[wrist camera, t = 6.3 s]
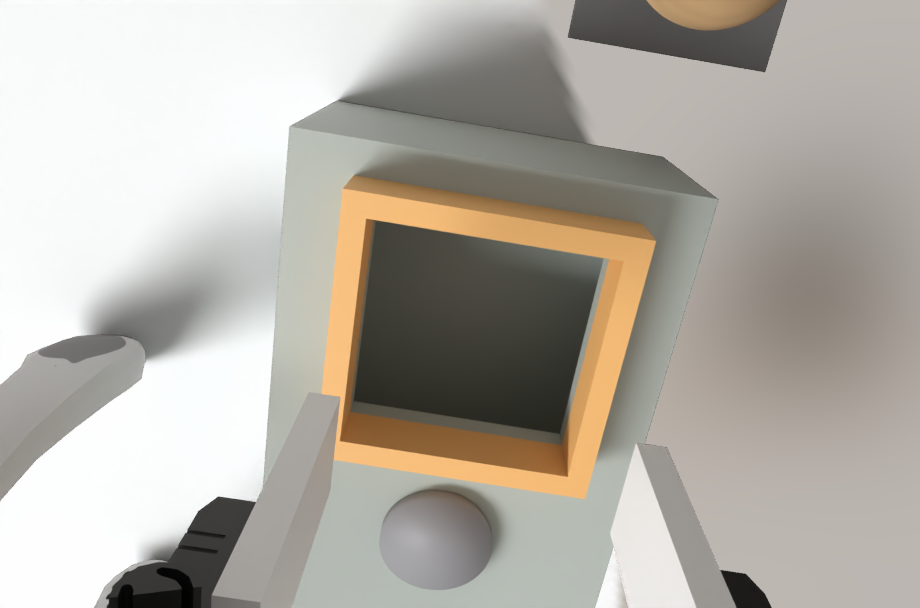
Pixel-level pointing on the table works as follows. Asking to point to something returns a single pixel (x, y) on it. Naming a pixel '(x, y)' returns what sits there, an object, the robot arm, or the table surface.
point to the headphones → (62, 402)
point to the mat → (676, 33)
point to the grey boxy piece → (473, 350)
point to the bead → (711, 12)
